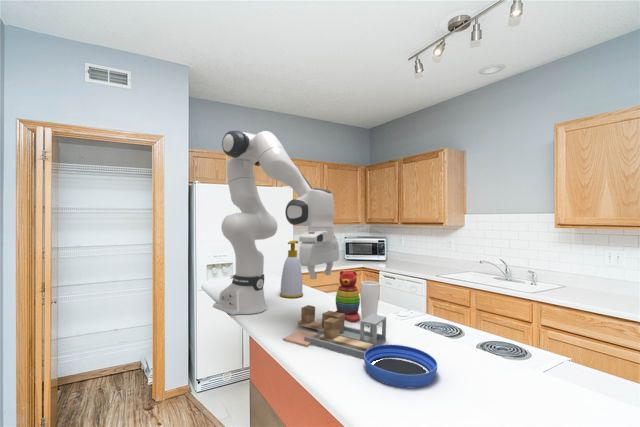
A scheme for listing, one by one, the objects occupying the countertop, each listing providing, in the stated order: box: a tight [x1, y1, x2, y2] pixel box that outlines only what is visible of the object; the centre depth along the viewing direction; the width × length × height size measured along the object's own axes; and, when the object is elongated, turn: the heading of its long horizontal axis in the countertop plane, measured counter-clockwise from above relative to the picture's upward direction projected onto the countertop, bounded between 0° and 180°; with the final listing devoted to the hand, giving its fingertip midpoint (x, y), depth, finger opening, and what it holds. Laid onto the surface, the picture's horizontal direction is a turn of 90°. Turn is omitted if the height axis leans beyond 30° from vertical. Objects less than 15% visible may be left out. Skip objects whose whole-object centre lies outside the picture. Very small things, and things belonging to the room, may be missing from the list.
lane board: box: [304, 314, 387, 360], centre depth 102 cm, size 20×16×8 cm
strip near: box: [319, 318, 374, 352], centre depth 98 cm, size 16×4×6 cm, turn 58°
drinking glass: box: [359, 280, 380, 327], centre depth 120 cm, size 7×7×15 cm
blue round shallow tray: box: [363, 344, 438, 388], centre depth 84 cm, size 18×18×4 cm
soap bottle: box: [279, 240, 304, 299], centre depth 159 cm, size 11×12×26 cm
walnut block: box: [321, 310, 346, 330], centre depth 109 cm, size 6×4×4 cm
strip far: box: [297, 304, 344, 334], centre depth 111 cm, size 16×4×6 cm, turn 58°
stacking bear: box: [334, 270, 361, 323], centre depth 127 cm, size 11×10×18 cm
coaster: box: [282, 330, 320, 348], centre depth 103 cm, size 9×9×1 cm
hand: (320, 276), depth 111 cm, fingers open, 8 cm apart
